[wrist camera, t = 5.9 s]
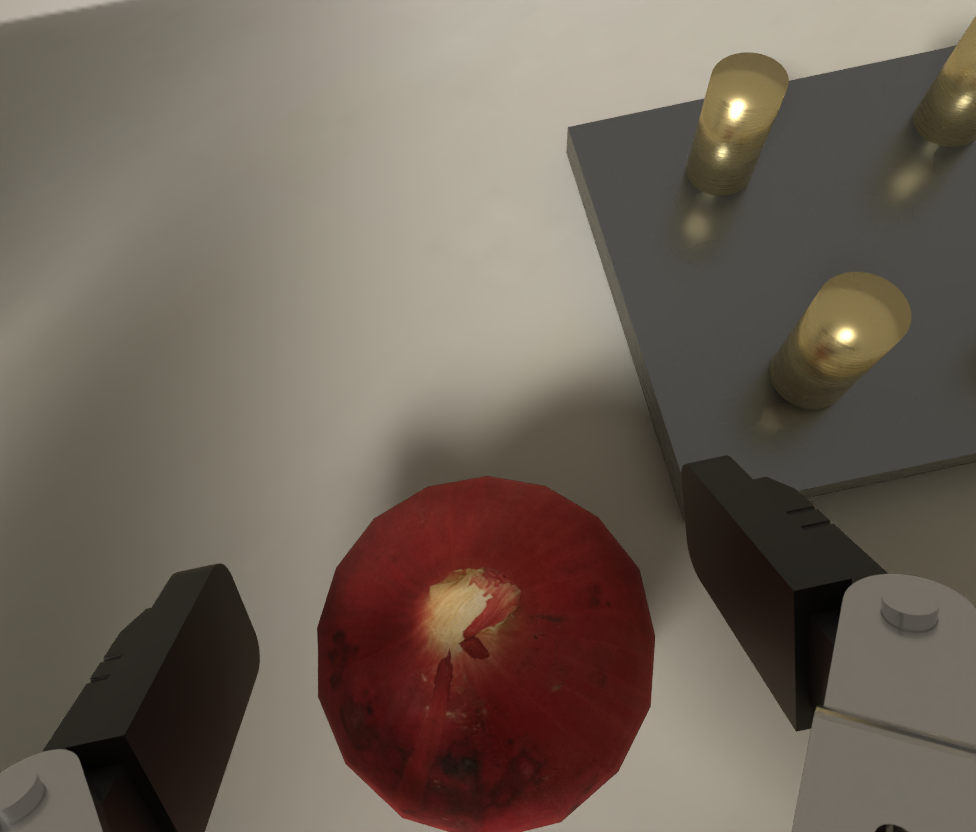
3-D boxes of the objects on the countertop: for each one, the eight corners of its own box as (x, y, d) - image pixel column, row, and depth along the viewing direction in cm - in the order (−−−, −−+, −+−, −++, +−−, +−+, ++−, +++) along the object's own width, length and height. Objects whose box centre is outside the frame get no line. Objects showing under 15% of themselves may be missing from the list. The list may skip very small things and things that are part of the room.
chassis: (685, 523, 16) (728, 473, 12) (566, 152, 20) (571, 34, 17) (1251, 403, 16) (1465, 316, 12) (1004, 60, 20) (1104, -76, 17)
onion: (606, 829, 14) (681, 1000, 6) (343, 761, 14) (134, 839, 7) (641, 552, 16) (730, 432, 8) (410, 507, 16) (304, 362, 9)
